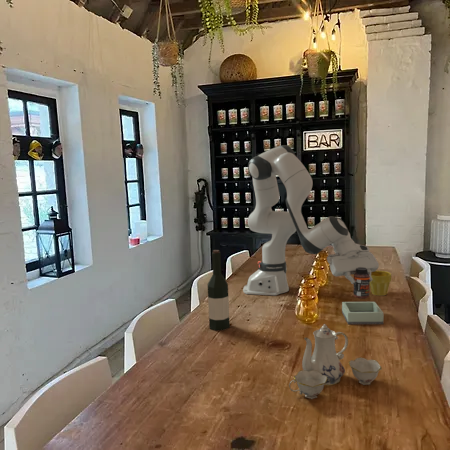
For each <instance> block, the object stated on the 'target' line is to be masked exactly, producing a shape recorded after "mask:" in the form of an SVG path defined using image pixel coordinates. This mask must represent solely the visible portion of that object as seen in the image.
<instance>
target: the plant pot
mask: <svg viewBox="0 0 450 450" xmlns="http://www.w3.org/2000/svg"><path fill="white" fill-rule="evenodd" d="M371 277H372V279H373V280H372V281H371V282H370V291H371V294H372V295H373V296H378V297H383V296H386V295H388V292H389V288H390V287H389V286H390V283H391V282H392V273H391V272H390V271H386V270H376V271H374V272H371Z"/></svg>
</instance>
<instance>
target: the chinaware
mask: <svg viewBox="0 0 450 450" xmlns="http://www.w3.org/2000/svg"><path fill="white" fill-rule="evenodd" d="M312 334H313V335H314V349H312V348H313V346H312V345H313V344H312V341H311V339H310V338H308V337H304V338H303V339H304V341H306V346H305V349H304V353H303V356H302V362H301V363H302V364H301V367H302V370H299V371H297V373H296V375H293V380H291V381H290V382H289V384H288V387H289V390H290V391H292V392H299V395H302V394H304V396H305V398H307V399H311V400H313V399H316V398H317V396H318V395H319V394H320V393H321V392H322V391H323V390H324V386H333V385H337V384H338V383H340V381H341V377H343V375H345V373H346V369H345V367H344V365H343V364H342V363H341V360H342V359H344V358H345V354H344V352H345V351H346V350H347V348H348V346H349V339H348V336H347V334H345V333H344V332H343V331H342V332H341V331H337V332H335V330H331V329H330V328H329V327H328V326H327V324H326V323H323V325H321V327H320V328H319V329H316V330H314V331H313V332H312ZM337 335H342V336H344V340H345V343H344V346H343V348H341V350H340V351H338V352H337V350H336V341H337V340H338V339H339V336H337ZM335 340H336V341H335ZM312 350H313V351H312ZM348 365H349V367H350V369H351V370H352V371H351V372H352V374H353V376H354V377H355V379H357V380H358V383H360V385H363V386H365V385H366V386H367V385H368V386H371V383H372V382H373V381H375V379H376V378H377V377H378V375H379V371H381V370H382V369H383V368H382V365H380V363H379V362H378V361H377V360H376V359H367V358H365V357H356V358H355V359H354V360H349V361H348ZM292 383H294V384H297V388H298V389H293V388H291V384H292Z"/></svg>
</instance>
